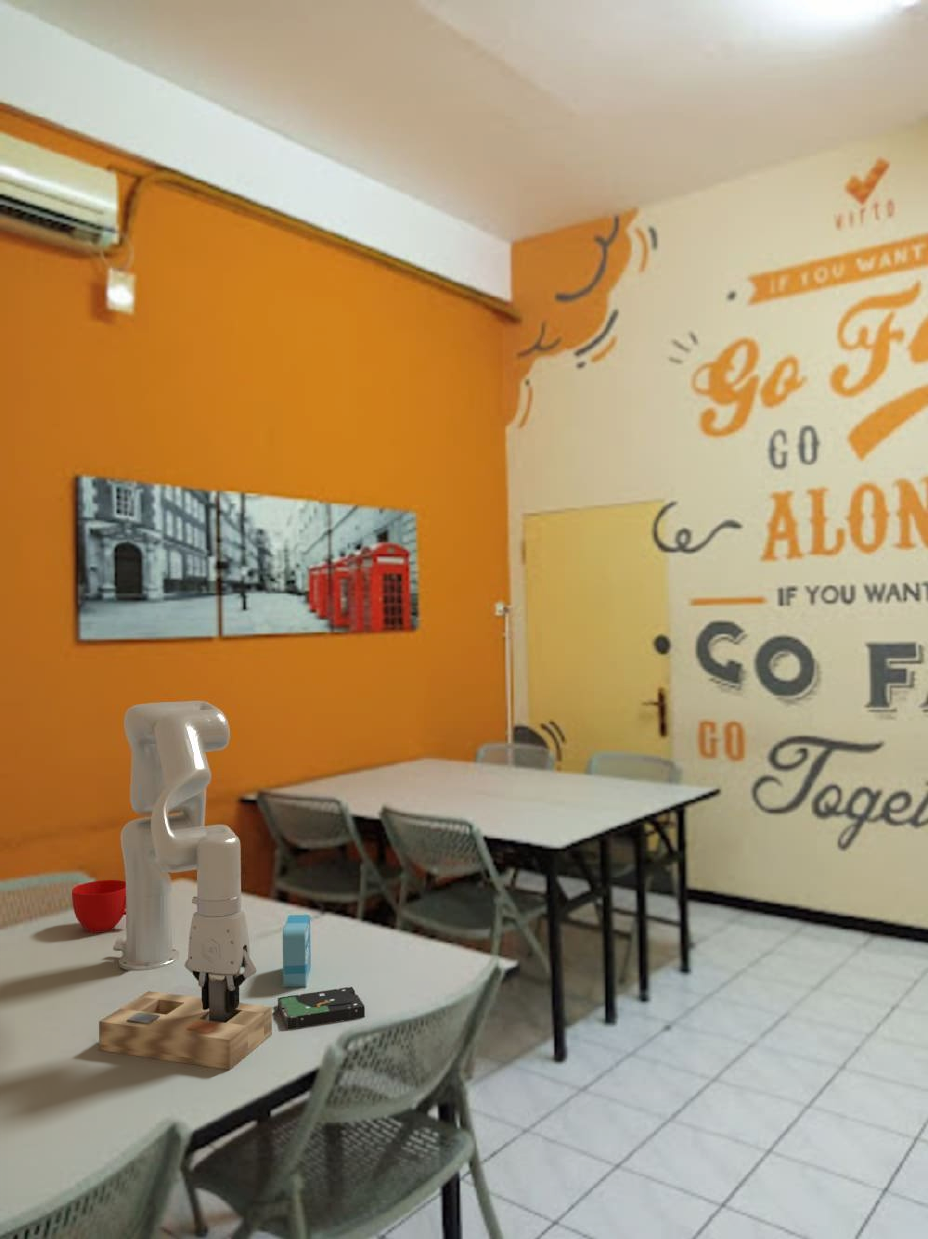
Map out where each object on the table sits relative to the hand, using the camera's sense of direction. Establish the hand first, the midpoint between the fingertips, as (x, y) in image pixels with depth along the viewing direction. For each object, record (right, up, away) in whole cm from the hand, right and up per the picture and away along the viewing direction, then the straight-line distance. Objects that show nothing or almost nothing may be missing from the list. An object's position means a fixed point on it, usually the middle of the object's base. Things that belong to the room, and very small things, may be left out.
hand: (220, 1007), depth 169 cm
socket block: (-6, -6, 0) cm, 9 cm away
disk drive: (+16, -7, +12) cm, 21 cm away
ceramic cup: (-43, -7, +64) cm, 78 cm away
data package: (+8, -6, +29) cm, 31 cm away
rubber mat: (-12, -6, +19) cm, 23 cm away
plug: (0, -3, 0) cm, 3 cm away
